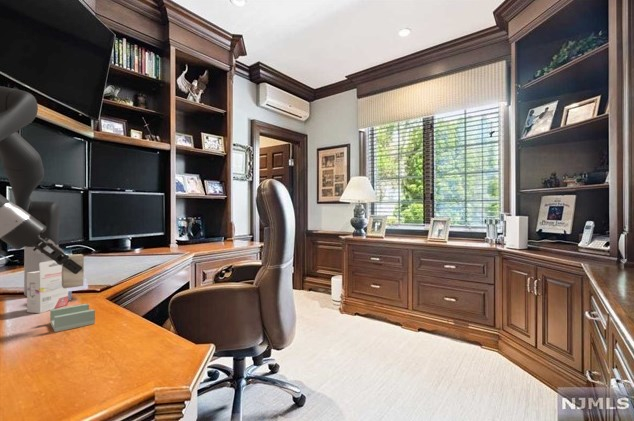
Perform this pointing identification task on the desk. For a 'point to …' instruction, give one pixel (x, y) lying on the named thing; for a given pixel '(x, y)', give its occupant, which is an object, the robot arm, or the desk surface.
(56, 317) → the sage green grooved bar
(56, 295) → the ink cartridge box
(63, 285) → the birch block
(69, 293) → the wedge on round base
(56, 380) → the desk surface
